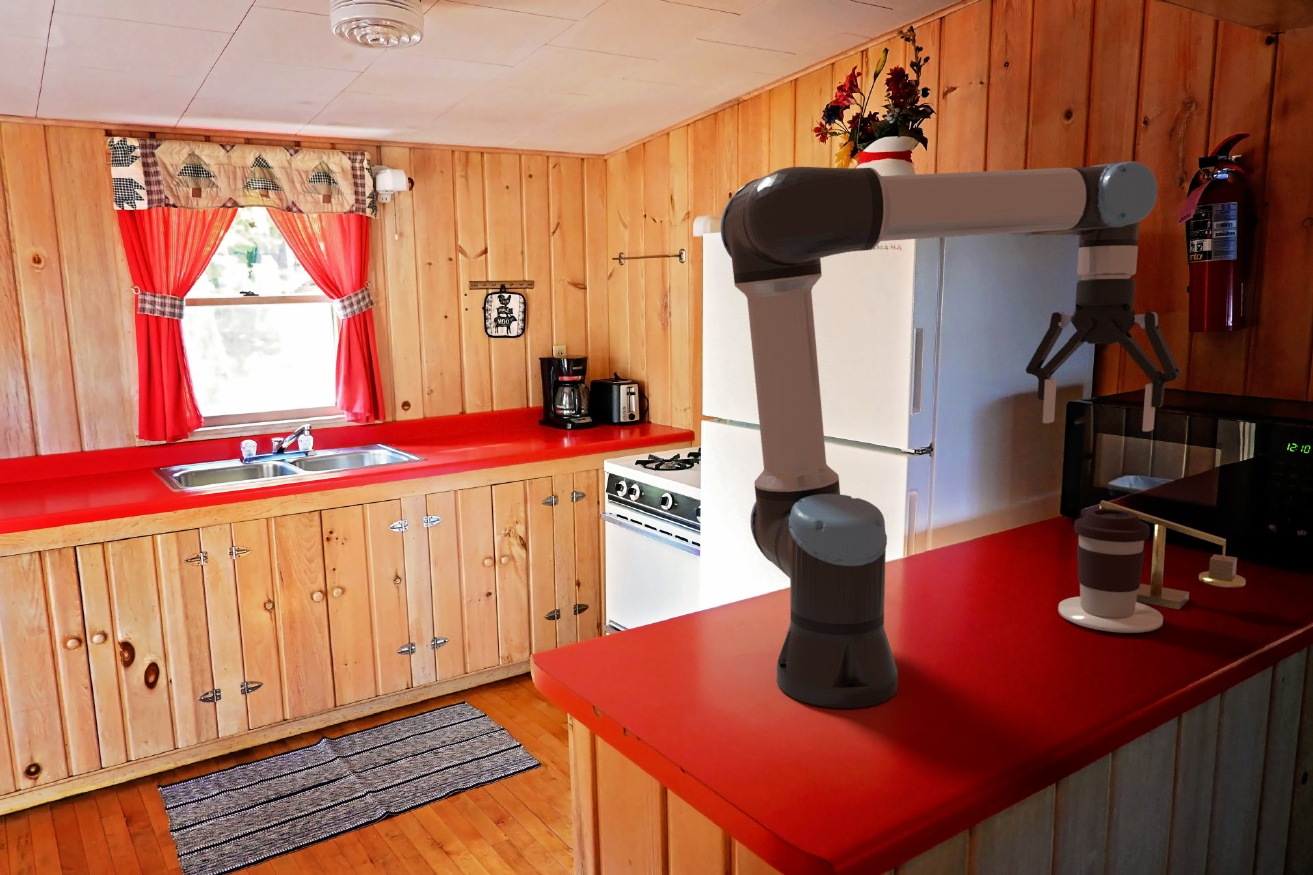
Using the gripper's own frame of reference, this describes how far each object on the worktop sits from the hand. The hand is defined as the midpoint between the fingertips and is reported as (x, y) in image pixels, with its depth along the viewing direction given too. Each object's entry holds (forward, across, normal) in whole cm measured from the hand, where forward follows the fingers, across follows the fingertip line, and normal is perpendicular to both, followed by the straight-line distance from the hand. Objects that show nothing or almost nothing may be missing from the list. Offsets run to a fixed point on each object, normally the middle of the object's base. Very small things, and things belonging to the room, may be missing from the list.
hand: (1096, 426), depth 132 cm
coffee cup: (+28, -3, -2) cm, 28 cm away
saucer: (+29, -3, -2) cm, 29 cm away
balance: (+29, -6, -16) cm, 34 cm away
